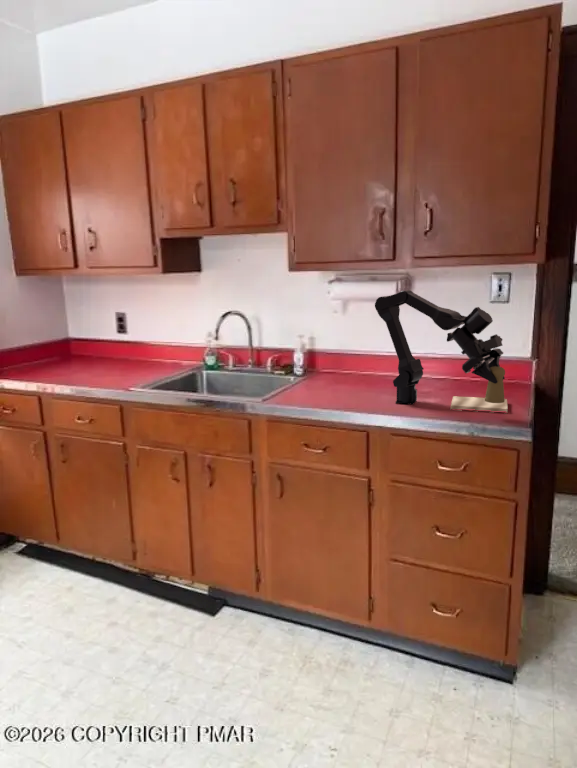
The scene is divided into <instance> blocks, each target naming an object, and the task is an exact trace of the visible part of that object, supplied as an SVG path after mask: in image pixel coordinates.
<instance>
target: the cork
mask: <svg viewBox="0 0 577 768" xmlns="http://www.w3.org/2000/svg"><path fill="white" fill-rule="evenodd" d="M490 370H491V371H492V373H493V374H494V376H495V377H496V379H497V381H498V382H497V383H496V384H494V383H492V382H490V381H488V380H487V381H488V382H487V386H486V390H485V391H486V392H485V396H484V398H485V401H486V402H489V403H503V402H505V399H506V398H505V388H504V380H503V377H504V378H505V375H506V370H505V368H504V367H502V366H500V367H497V366H494V367H490Z"/></svg>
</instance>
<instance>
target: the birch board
mask: <svg viewBox="0 0 577 768" xmlns="http://www.w3.org/2000/svg"><path fill="white" fill-rule="evenodd" d="M504 399H505V402H503V403H489V402H486V401H485V397H476V396H475V397H473V396H458V395H457V396H456V395H455V396H452V400H451V402H450V410H451V409H475V410H491V411H506V412H507V413H508V399H507V398H504Z"/></svg>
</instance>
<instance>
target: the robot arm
mask: <svg viewBox="0 0 577 768" xmlns="http://www.w3.org/2000/svg"><path fill="white" fill-rule="evenodd" d="M402 305H407V306H409V307H411V308H413V309H415V310H416V311H418V312H420V313H421V314H423V315H426V316H427V317H429V318H430V319H431V320H432V322H433V323H434V324H435V325H437V327H439V328H440V330H444V331H450V330H453V331H452V332H449V333H447V337H446V342H448V343H449V342H452V341H455V343H456V344H457V345H458V346H459V348H460V349H461V350H462V351H461V352H460V353H461V354H462V355H466V356H467V357H468V359H467V360H466V361H465V362H464V363H463V364H462V366H461V369H462V372H464V374H468V373H471V374H473V375H476V376H479V377H481V378H483V379H485V380H486V381H490V382H492V383H494V384H496V383H497V382H498V381H497V379H496V377H495V376H494V374H493V373H492V371H491V370H490V367H494V366H497V367H501V366H500V359H501V357H502V355H503V354H504V351H503V350H502V349H501V348H499V347H502V346H503V340H504V339H503V338H501V336H500V335H498V334H493V335H490V338H489V339H487V340H483V339H481V338H479V339H478V338H477V337H476V336H475V335H474V334H476V335H480V334H481V333H482V332H483V331H484V330H485V329H486V328H488V326H490V324H492V323H493V318H492V316H491V314H489V312H488V313H487V311H485V310H483V309H482V308H481V307H479V306H477V307H474V308H473V309H472V311H471V312H470V313H469V314H468V315H467V316H465V315H462V314H461V313H460V312H459V311H456V310H453V309H450V308H445V307H441V306H439V305H436V304H435V303H433V302H431V301H429V300H427V299H426V298H424V297H422V296H420V295H418V294H416V293H414V292H413V291H412V290H411V289H407V290H406V289H404V290H401V291H399V292H397V293H394V294H390V295H384V296H383V295H382V296H380V297H379V296H378V297H377V298H376V300H375V303H374V308H375V310H376V312H377V315H378V316H379V317H380V318H381V319H382V320H383V322H385V324H386V328H387V330H388V333H389V336H390V338H391V341H392V343H393V347H394V350H395V353H396V356H397V359H398V363H397V364H398V365H397V371H398V375H397V376H396V377H395V378H394V379H393V380H392V383H393V387H395V388H396V401H395V404H397V403H408V404H407V405H415V403H416V402H417V400H418V389H417V388H416V385H419V382H420V380H421V379H422V378H423V375H424V371H423V370H424V367H423V365H422V361H421V359H420V358H415V357H414V356H413V354H412V351H411V348H410V346H409V342H408V340H407V337H406V335H405V331H404V329H403V327H402V323H401V320H400V312H401V311H400V310H401V309H400V306H402ZM460 326H461V327H460ZM472 369H473V370H472ZM471 370H472V371H471ZM504 380H506V379H505V376H504V377H503V381H504Z"/></svg>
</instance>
